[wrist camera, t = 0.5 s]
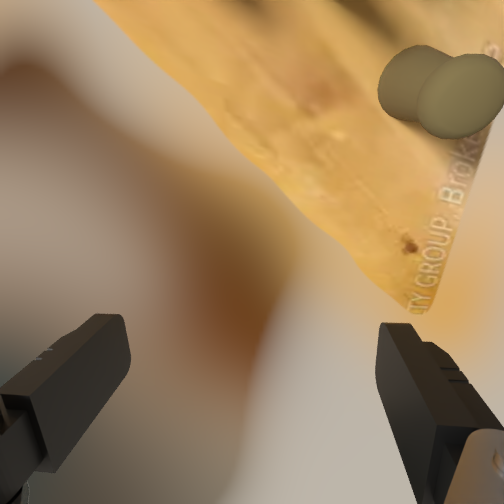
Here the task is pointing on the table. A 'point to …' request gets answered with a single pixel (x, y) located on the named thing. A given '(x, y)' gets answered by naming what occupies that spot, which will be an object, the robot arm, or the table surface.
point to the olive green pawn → (442, 90)
